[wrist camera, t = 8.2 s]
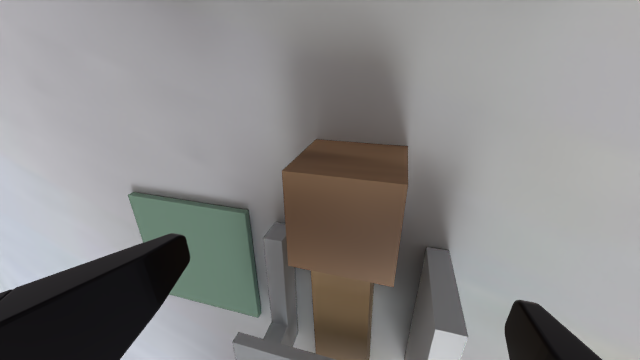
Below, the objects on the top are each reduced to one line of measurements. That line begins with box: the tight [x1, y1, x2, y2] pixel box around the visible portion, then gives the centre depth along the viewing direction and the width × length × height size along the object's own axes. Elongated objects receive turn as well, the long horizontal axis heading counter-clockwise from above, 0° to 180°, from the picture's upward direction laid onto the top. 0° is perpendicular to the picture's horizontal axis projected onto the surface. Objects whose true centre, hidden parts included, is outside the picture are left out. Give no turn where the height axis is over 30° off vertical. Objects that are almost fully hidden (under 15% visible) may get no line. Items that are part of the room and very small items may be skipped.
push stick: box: [311, 271, 374, 360], centre depth 16 cm, size 14×3×3 cm, turn 2°
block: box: [282, 139, 408, 287], centre depth 11 cm, size 4×4×4 cm
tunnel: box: [232, 222, 468, 360], centre depth 14 cm, size 8×9×5 cm
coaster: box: [128, 192, 261, 318], centre depth 18 cm, size 8×8×1 cm
